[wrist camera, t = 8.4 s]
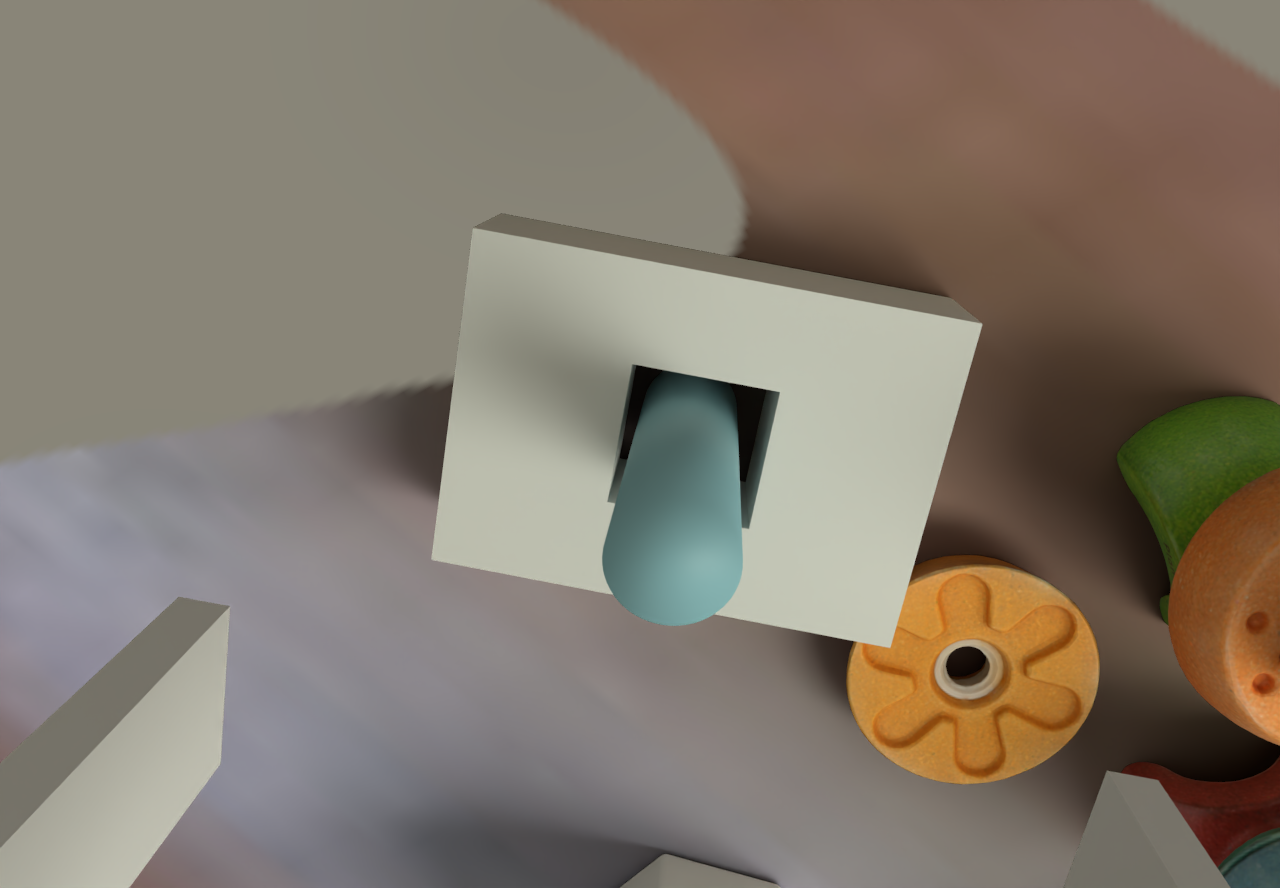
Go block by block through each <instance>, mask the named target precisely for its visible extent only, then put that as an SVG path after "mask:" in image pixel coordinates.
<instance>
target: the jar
mask: <svg viewBox="0 0 1280 888" xmlns="http://www.w3.org/2000/svg"><path fill="white" fill-rule="evenodd" d="M620 888H781V887H780V886H779V885H777V884H774V883H771V882H767V881H763V880H760V879H756V878H753V877H749V876H745V875H742V874H738V873H734V872H731V871H727V870H723V869H720V868H716V867H713V866H709V865H705V864H702V863H698V862H694V861H691V860H687V859H684V858H680V857H676V856H673V855H669V854H663V855H661V856H660V857H658V858H657V859H656V860H655V861H653V862H652V863H651V864H649V865H648V866H647V867H646V868H644V869H643V870H642V871H640V872H639V873H638V874H637V875H635V876H634V877H633V878H631V879H630V880H629V881H627V882H626V883H625V884H624V885H622V886H621V887H620Z"/></svg>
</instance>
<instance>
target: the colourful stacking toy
mask: <svg viewBox="0 0 1280 888" xmlns="http://www.w3.org/2000/svg"><path fill="white" fill-rule="evenodd" d="M1117 462H1118V465H1119V467H1120V470H1121V472H1122V475H1123V477H1124V479H1125V481H1126V483H1127V485H1128V487H1129V488H1130V490H1131V492H1132V493H1133V494H1134V496H1135V497H1136V499H1137V500H1138V502H1139V503H1140V505H1141V507H1142V509H1143V510H1144V512H1145V514H1146V515H1147V517H1148V519H1149V521H1150V523H1151V525H1152V527H1153V529H1154V532H1155V534H1156V536H1157V539H1158V541H1159V543H1160V546H1161V549H1162V552H1163V555H1164V558H1165V561H1166V565H1167V569H1168V574H1169V579H1170V584H1171V591H1170V595H1166V596H1163V597H1162V598H1161V599H1160V611H1161V614H1162V617H1163V620H1164V621H1165V623H1166V624H1167V625H1168V626H1169V632H1170V636H1171V641H1172V644H1173V648H1174V652H1175V654H1176V657H1177V660H1178V662H1179V665H1180V667H1181V668H1182V670H1183V672H1184V674H1185V676H1186V677H1187V679H1188V680H1189V682H1190V683H1191V684H1192V685H1193V687H1194V688H1195V689H1196V691H1197V692H1198V693H1199V694H1200V695H1201V696H1202V697H1203V698H1204V699H1205V700H1206V701H1207V702H1208V703H1209V704H1210V705H1212V706H1213V707H1214V708H1215V709H1217V710H1218V711H1219V712H1220V713H1221V714H1223V715H1224V716H1226V717H1227V718H1228V719H1230V720H1231V721H1232V722H1234V723H1235V724H1237V725H1238V726H1240V727H1242V728H1244V729H1246V730H1247V731H1249V732H1251V733H1253V734H1255V735H1256V736H1259V737H1261V738H1263V739H1265V740H1267V741H1269V742H1272V743H1274V744H1277V745H1279V746H1280V405H1278V404H1277V403H1275V402H1272V401H1268V400H1265V399H1261V398H1254V397H1247V396H1225V397H1219V398H1212V399H1207V400H1202V401H1198V402H1194V403H1191V404H1188V405H1185V406H1182V407H1179V408H1177V409H1175V410H1172V411H1170V412H1168V413H1166V414H1164V415H1162V416H1161V417H1159V418H1157V419H1155V420H1153V421H1151V422H1150V423H1148V424H1147V425H1146V426H1144V427H1143V428H1142V429H1140V430H1139V431H1138V432H1137V433H1135V434H1134V435H1133V436H1132V437H1131V438H1130V439H1129V440H1128V441H1126V442H1125V443H1124V444H1123V445H1122V447H1121V448H1120V450H1119V452H1118V453H1117ZM965 646H971V647H975V648H978V649H980V650H981V651H982V652H983V653H984V654H985V655H986V662H985V664H984V665H983V667H982V668H981V669H979V670H978V671H976V672H975V673H972V674H970V675H967V676H963V677H954V676H950V675H948V674H947V669H946V662H947V659H948V657H949V655H950V654H951V653H952V652H953V651H954V650H955V649H957V648H960V647H965ZM1099 673H1100V658H1099V652H1098V647H1097V642H1096V639H1095V636H1094V634H1093V631H1092V629H1091V627H1090V625H1089V623H1088V621H1087V620H1086V618H1085V616H1084V615H1083V613H1082V612H1081V611H1080V609H1079V608H1078V607H1077V606H1076V604H1075V603H1074V602H1073V601H1072V600H1071V599H1070V598H1068V597H1067V596H1066V595H1065V594H1064V593H1063V592H1061V591H1060V590H1059V589H1057V588H1056V587H1055V586H1053V585H1052V584H1050V583H1048V582H1047V581H1045V580H1043V579H1041V578H1039V577H1037V576H1035V575H1033V574H1031V573H1029V572H1027V571H1025V570H1023V569H1021V568H1019V567H1017V566H1014V565H1012V564H1010V563H1007V562H1005V561H1001V560H998V559H994V558H990V557H985V556H979V555H953V556H944V557H940V558H936V559H932V560H928V561H925V562H922V563H920V564H917V565H915V566H913V570H912V573H911V577H910V581H909V584H908V588H907V591H906V595H905V598H904V602H903V605H902V609H901V612H900V616H899V619H898V623H897V626H896V630H895V633H894V637H893V640H892V644H891V647H890V648H887V647H882V646H877V645H872V644H867V643H861V642H856V641H854V642H853V645H852V648H851V651H850V654H849V659H848V664H847V677H846V687H847V696H848V700H849V704H850V708H851V711H852V713H853V715H854V718H855V720H856V722H857V724H858V726H859V728H860V729H861V731H862V733H863V734H864V735H865V737H866V738H867V739H868V741H869V742H870V743H871V744H872V745H873V746H874V747H875V748H876V749H877V750H878V751H879V752H880V753H881V754H882V755H884V756H885V757H886V758H888V759H889V760H891V761H892V762H893V763H895V764H897V765H898V766H900V767H902V768H904V769H905V770H907V771H909V772H912V773H914V774H916V775H919V776H922V777H926V778H929V779H932V780H935V781H940V782H946V783H953V784H976V783H987V782H992V781H997V780H1002V779H1006V778H1008V777H1011V776H1014V775H1017V774H1019V773H1022V772H1024V771H1027V770H1029V769H1032V768H1034V767H1035V766H1037V765H1039V764H1041V763H1042V762H1044V761H1046V760H1047V759H1048V758H1050V757H1051V756H1053V755H1054V754H1055V753H1057V752H1058V751H1059V750H1060V749H1061V748H1062V747H1064V746H1065V745H1066V744H1067V743H1068V742H1069V741H1070V740H1071V739H1072V738H1073V736H1074V735H1075V734H1076V733H1077V731H1078V730H1079V729H1080V727H1081V726H1082V725H1083V723H1084V722H1085V720H1086V718H1087V716H1088V714H1089V712H1090V710H1091V708H1092V706H1093V703H1094V700H1095V697H1096V694H1097V689H1098V682H1099ZM1121 773H1123V774H1128V775H1133V776H1139V777H1144V778H1149V779H1155V780H1158V781H1159V782H1160V784H1161V785H1162V787H1163V788H1164V790H1165V791H1166V793H1167V794H1168V796H1169V797H1170V798H1171V800H1172V801H1173V803H1174V804H1175V806H1176V807H1177V809H1178V810H1179V812H1180V813H1181V815H1182V816H1183V818H1184V819H1185V821H1186V822H1187V824H1188V825H1189V827H1190V828H1191V830H1192V831H1193V833H1194V834H1195V836H1196V837H1197V839H1198V840H1199V842H1200V843H1201V844H1202V846H1203V847H1204V849H1205V850H1206V852H1207V853H1208V855H1209V856H1210V858H1211V859H1212V861H1213V862H1214V864H1215V865H1216V867H1217V868H1218V870H1219V871H1220V873H1221V874H1222V876H1223V877H1224V879H1225V880H1226V882H1227V883H1228V885H1229V886H1230V888H1280V756H1279V758H1278V759H1277V761H1276V762H1275V763H1274V764H1273V765H1272V766H1271V767H1270V768H1268V769H1267V770H1265V771H1263V772H1262V773H1259V774H1257V775H1255V776H1253V777H1250V778H1246V779H1243V780H1239V781H1231V782H1207V781H1198V780H1193V779H1189V778H1185V777H1182V776H1180V775H1178V774H1176V773H1174V772H1172V771H1170V770H1169V769H1167V768H1165V767H1163V766H1160V765H1158V764H1154V763H1149V762H1137V763H1133V764H1130V765H1128V766H1126V767H1125V768H1124V769H1123V771H1122V772H1121Z"/></svg>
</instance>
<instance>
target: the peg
mask: <svg viewBox="0 0 1280 888" xmlns="http://www.w3.org/2000/svg"><path fill="white" fill-rule="evenodd" d="M602 566H603V572H604V576H605V579H606V582H607V584H608V586H609V588H610V590H611V592H612V593H613V595H614V596H615V598H616V599H617V600H618V601H619V602H620V603H621V604H622V605H623V606H624V607H625V608H626V609H627V610H629V611H630V612H631V613H633V614H634V615H636V616H638V617H640V618H642V619H644V620H647V621H649V622H653V623H656V624H661V625H670V626H679V625H687V624H692V623H696V622H699V621H702V620H704V619H706V618H708V617H710V616H712V615H713V614H715V613H716V612H718V611H719V610H720V609H721V608H723V607H724V606H725V605H726V604H727V602H728V601H729V600H730V599H731V598H732V596H733V595H734V593H735V591H736V589H737V587H738V585H739V582H740V579H741V576H742V569H743V549H742V523H741V497H740V472H739V446H738V420H737V402H736V397H735V394H734V391H733V389H732V387H731V386H730V384H729V382H724V381H719V380H714V379H708V378H703V377H698V376H693V375H687V374H682V373H677V372H671V371H666V370H664V371H663V372H661V373H660V374H659V375H658V376H657V377H656V378H655V379H654V380H653V381H652V383H651V384H650V386H649V388H648V390H647V392H646V395H645V398H644V402H643V406H642V409H641V413H640V416H639V420H638V424H637V427H636V431H635V434H634V438H633V442H632V445H631V449H630V452H629V456H628V460H627V463H626V467H625V470H624V474H623V478H622V481H621V485H620V488H619V492H618V496H617V499H616V503H615V506H614V510H613V514H612V517H611V521H610V524H609V528H608V532H607V535H606V539H605V543H604V547H603V553H602Z"/></svg>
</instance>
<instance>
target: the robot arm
mask: <svg viewBox="0 0 1280 888" xmlns="http://www.w3.org/2000/svg"><path fill="white" fill-rule="evenodd" d="M229 614H230V606H225V605H220V604H214V603H209V602H204V601H198V600H193V599H188V598H182V597H178V598H177V599H176V600H175V601H174V602H173V603H172V604H171V605H170V606H169V607H167V608H166V609H165V610H164V611H163V612H162V613H161V614H160V615H159V616H158V617H157V618H156V619H155V620H154V621H152V622H151V623H150V624H149V625H148V626H147V627H146V628H145V629H144V630H143V631H142V632H141V633H140V634H138V635H137V636H136V637H135V638H134V639H133V640H132V641H131V642H130V643H129V644H128V645H127V646H126V647H125V648H123V649H122V650H121V651H120V652H119V653H118V654H117V655H116V656H115V657H114V658H113V659H112V660H111V661H109V662H108V663H107V664H106V665H105V666H104V667H103V668H102V669H101V670H100V671H99V672H98V673H97V674H96V675H94V676H93V677H92V678H91V679H90V680H89V681H88V682H87V683H86V684H85V685H84V686H83V687H82V688H80V689H79V690H78V691H77V692H76V693H75V694H74V695H73V696H72V697H71V698H70V699H69V700H68V701H67V702H65V703H64V704H63V705H62V706H61V707H60V708H59V709H58V710H57V711H56V712H55V713H54V714H53V715H52V716H50V717H49V718H48V719H47V720H46V721H45V722H44V723H43V724H42V725H41V726H40V727H39V728H38V729H36V730H35V731H34V732H33V733H32V734H31V735H30V736H29V737H28V738H27V739H26V740H25V741H24V742H23V743H21V744H20V745H19V746H18V747H17V748H16V749H15V750H14V751H13V752H12V753H11V754H10V755H9V756H7V757H6V758H5V759H4V760H3V761H2V762H1V763H0V888H129V887H130V886H131V885H132V883H133V882H134V880H135V879H136V878H137V876H138V875H139V874H140V872H141V871H142V870H143V868H144V867H145V866H146V864H147V863H148V861H149V860H150V859H151V857H152V856H153V855H154V853H155V852H156V851H157V849H158V848H159V847H160V845H161V844H162V843H163V841H164V840H165V838H166V837H167V836H168V834H169V833H170V832H171V830H172V829H173V828H174V826H175V825H176V824H177V822H178V821H179V819H180V818H181V817H182V815H183V814H184V813H185V811H186V810H187V809H188V807H189V806H190V805H191V803H192V802H193V800H194V799H195V798H196V796H197V795H198V794H199V792H200V791H201V790H202V788H203V787H204V786H205V784H206V783H207V781H208V780H209V779H210V777H211V776H212V775H213V773H214V772H215V771H216V769H217V768H218V767H219V765H220V764H221V748H222V732H223V715H224V698H225V681H226V665H227V648H228V631H229ZM1063 888H1230V886H1229V885H1228V883H1227V882H1226V880H1225V879H1224V877H1223V876H1222V874H1221V873H1220V871H1219V870H1218V868H1217V867H1216V865H1215V864H1214V862H1213V861H1212V859H1211V858H1210V856H1209V855H1208V853H1207V852H1206V850H1205V849H1204V847H1203V846H1202V844H1201V843H1200V842H1199V840H1198V839H1197V837H1196V836H1195V834H1194V833H1193V831H1192V830H1191V828H1190V827H1189V825H1188V824H1187V822H1186V821H1185V819H1184V818H1183V816H1182V815H1181V813H1180V812H1179V810H1178V809H1177V807H1176V806H1175V804H1174V803H1173V801H1172V800H1171V798H1170V797H1169V796H1168V794H1167V793H1166V791H1165V790H1164V788H1163V787H1162V785H1161V784H1160V782H1159V781H1158V780H1155V779H1149V778H1144V777H1139V776H1133V775H1128V774H1123V773H1117V772H1112V771H1107V772H1106V774H1105V777H1104V780H1103V782H1102V785H1101V788H1100V791H1099V793H1098V796H1097V799H1096V801H1095V804H1094V807H1093V809H1092V812H1091V815H1090V817H1089V820H1088V823H1087V825H1086V828H1085V831H1084V834H1083V836H1082V839H1081V842H1080V844H1079V847H1078V850H1077V852H1076V855H1075V858H1074V860H1073V863H1072V866H1071V868H1070V871H1069V874H1068V877H1067V879H1066V882H1065V885H1064V887H1063Z"/></svg>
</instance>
